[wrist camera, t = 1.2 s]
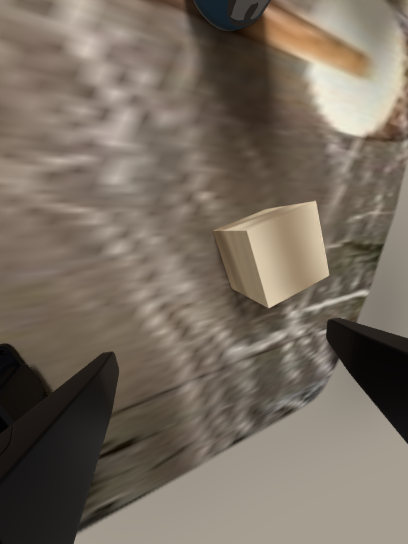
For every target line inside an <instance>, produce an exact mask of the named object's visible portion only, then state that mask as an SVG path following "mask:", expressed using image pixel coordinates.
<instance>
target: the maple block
mask: <svg viewBox="0 0 408 544" xmlns="http://www.w3.org/2000/svg"><path fill="white" fill-rule="evenodd" d="M213 234H214V237H215V240H216V243H217V246H218V249H219V252H220V255H221V258H222V261H223V264H224V267H225V270H226V273H227V276H228V278H229V281H230V284H231V287H232V289H234V290H235V291H237V292H239V293H241V294H243V295H245V296H247V297H249V298H250V299H252V300H254V301H256V302H258V303H260V304H262V305H264V306H265V307H267V308H271V307H272V306H274V305H276V304H278V303H280V302H282V301H283V300H285V299H287V298H289V297H291V296H292V295H294V294H296V293H298V292H300V291H302V290H303V289H305V288H307V287H309V286H311V285H313V284H314V283H316V282H318V281H320V280H322V279H324V278H325V277H327V276H329V271H328V265H327V260H326V254H325V249H324V243H323V238H322V232H321V227H320V221H319V216H318V211H317V205H316V201H313V202H307V203H301V204H295V205H289V206H282V207H276V208H270V209H265V210H263V211H260V212H258V213H255V214H253V215H250V216H248V217H245V218H243V219H241V220H238V221H236V222H233V223H231V224H228V225H226V226H223V227H221V228H218V229H216V230H213Z"/></svg>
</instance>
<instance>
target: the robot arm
mask: <svg viewBox="0 0 408 544" xmlns="http://www.w3.org/2000/svg"><path fill="white" fill-rule="evenodd" d="M326 338H327V341H328V342H329V344H330V345H331V347H332V348H333V350H334V351H335V353H336V354H337V356H338V357H339V359H340V360H341V361H342V363H343V364H344V366H345V367H346V369H347V370H348V372H349V373H350V374H351V376H352V377H353V378H354V379H355V380H356V382H357V383H358V384H359V385H360V387H361V388H362V389H363V390H364V391H365V393H366V394H367V395H368V396H369V398H370V399H371V400H372V401H373V402H374V403H375V405H376V406H377V407H378V408H379V410H380V411H381V412H382V413H383V415H385V417H386V418H387V419H388V421H389V422H390V423H391V424H392V426H393V427H394V428H395V429H396V430H397V432H398V433H399V434H400V435H401V436H402V438H403V439H404V440H405V441H406V443H407V444H408V338H405V337H402V336H398V335H395V334H392V333H388V332H385V331H382V330H378V329H374V328H371V327H368V326H365V325H361V324H358V323H355V322H351V321H348V320H345V319H341V318H333V319H329V320H328V322H327V331H326ZM1 349H2V350H4V351H5V352H6V353H1V352H0V544H74V540H75V537H76V533H77V530H78V527H79V523H80V520H81V516H82V513H83V510H84V506H85V503H86V499H87V496H88V492H89V489H90V486H91V482H92V479H93V475H94V472H95V469H96V465H97V462H98V458H99V455H100V452H101V448H102V445H103V441H104V438H105V434H106V431H107V428H108V424H109V421H110V417H111V413H112V409H113V404H114V398H115V393H116V387H117V382H118V376H119V367H118V364H117V360H116V356H115V353H114V352H105V353H102V354H101V355H99V356H98V357H97V358H96V359H94V360H93V361H92V362H90V363H89V364H88V365H87V366H85V367H84V368H83V369H82V370H80V371H79V372H78V373H77V374H75V375H74V376H73V377H72V378H70V379H69V380H68V381H67V382H65V383H64V384H63V385H61V386H60V387H59V388H58V389H56V390H55V391H54V392H53V393H51V394H50V395H49V396H47V395H46V393H45V392H44V387H43V386H42V384H41V383H40V382H39V380H38V379H37V378H36V376H35V375H34V373H33V372H32V371H31V369H30V368H29V366H28V365H26V364H24V363H23V362H22V360H21V359H20V358H19V356H18V355H17V353H16V352H15V351H14V349H13V348H12V347H11V346H10V345H9V344H0V350H1Z"/></svg>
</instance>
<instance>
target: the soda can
mask: <svg viewBox="0 0 408 544" xmlns="http://www.w3.org/2000/svg"><path fill="white" fill-rule="evenodd" d="M193 1H194V3H195V5H196V7H197V9H198V10H199V12H200V13H201V15H202V16H203V17H204V18H205V19H206V20H207V21H208V22H209V23H210V24H211V25H213V26H214V27H216V28H218V29H221V30H224V31H234V30H238V29H242V28H245V27H247V26H249V25H251V24H253V23H254V22H255V21H257V20H258V19H259V18H260V16H261V15H262V14H263V12H264V10H265V9H266V7H267V6H268V4H269V2H270V1H271V0H193Z"/></svg>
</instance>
